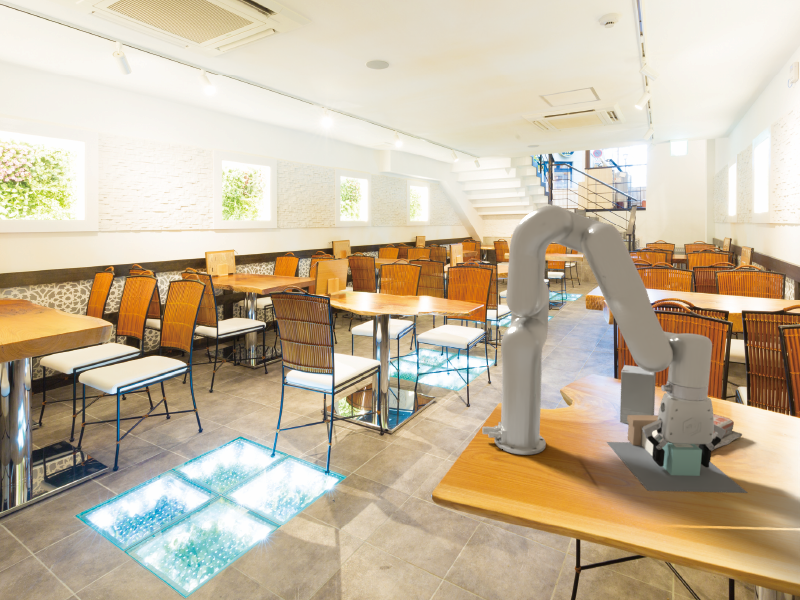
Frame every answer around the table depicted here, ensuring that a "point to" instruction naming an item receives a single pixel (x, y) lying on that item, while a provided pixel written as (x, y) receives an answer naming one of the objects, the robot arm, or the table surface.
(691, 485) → the mat
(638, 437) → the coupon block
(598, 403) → the table surface
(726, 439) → the packaged product
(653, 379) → the skincare box
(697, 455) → the teal cube
